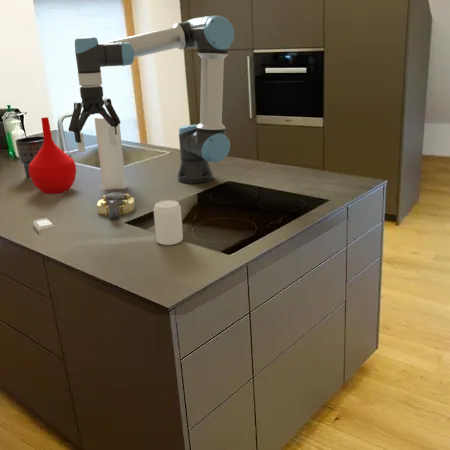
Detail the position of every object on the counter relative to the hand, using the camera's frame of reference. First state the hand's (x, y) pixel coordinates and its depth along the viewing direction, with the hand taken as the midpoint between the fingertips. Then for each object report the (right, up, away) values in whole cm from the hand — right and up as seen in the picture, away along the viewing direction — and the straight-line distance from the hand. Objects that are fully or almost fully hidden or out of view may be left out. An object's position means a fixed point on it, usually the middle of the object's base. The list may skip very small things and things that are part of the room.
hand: (97, 148), depth 183 cm
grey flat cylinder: (+4, -24, 0) cm, 24 cm away
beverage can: (+28, -32, -24) cm, 49 cm away
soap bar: (-15, -29, -10) cm, 34 cm away
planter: (-39, -6, +50) cm, 64 cm away
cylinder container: (-1, -12, +31) cm, 33 cm away
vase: (-25, -13, +31) cm, 42 cm away
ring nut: (+7, -22, -1) cm, 24 cm away
